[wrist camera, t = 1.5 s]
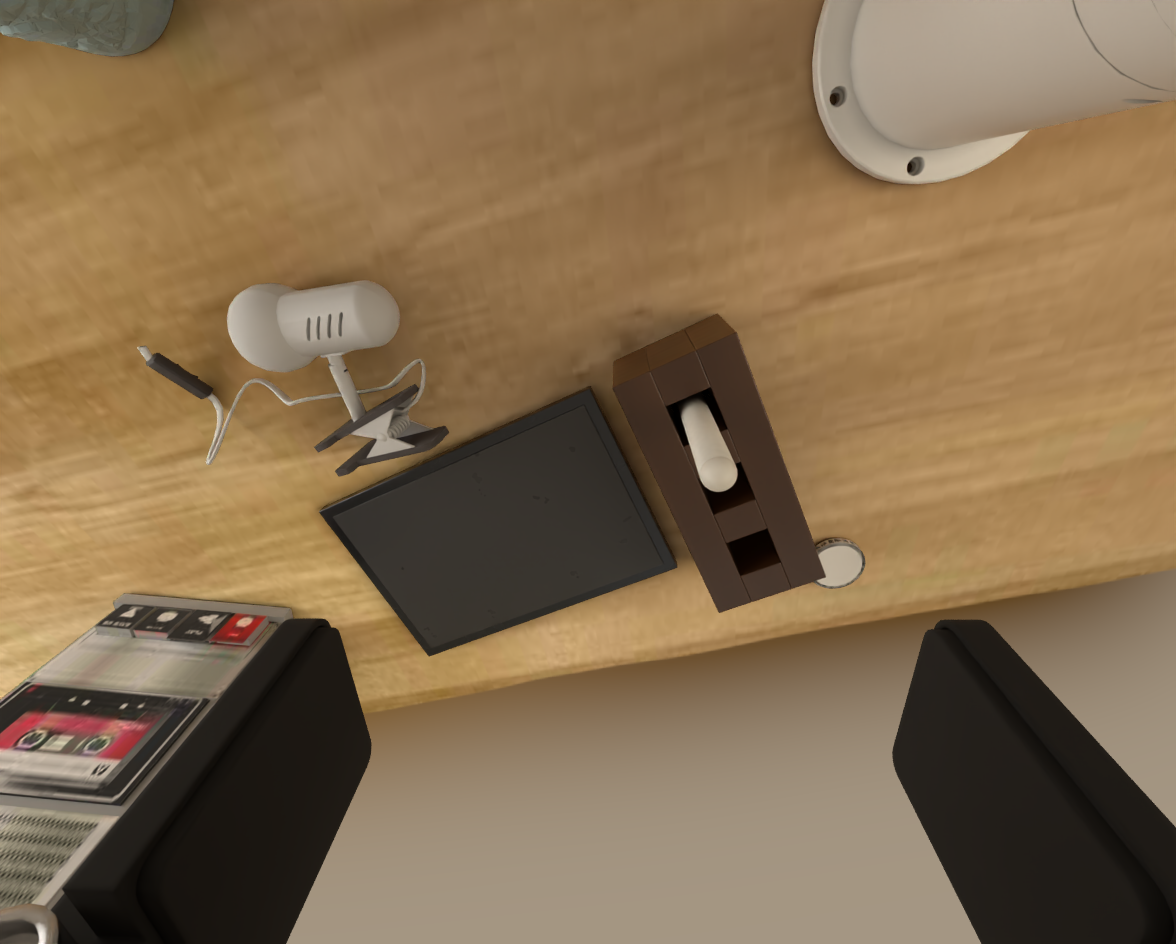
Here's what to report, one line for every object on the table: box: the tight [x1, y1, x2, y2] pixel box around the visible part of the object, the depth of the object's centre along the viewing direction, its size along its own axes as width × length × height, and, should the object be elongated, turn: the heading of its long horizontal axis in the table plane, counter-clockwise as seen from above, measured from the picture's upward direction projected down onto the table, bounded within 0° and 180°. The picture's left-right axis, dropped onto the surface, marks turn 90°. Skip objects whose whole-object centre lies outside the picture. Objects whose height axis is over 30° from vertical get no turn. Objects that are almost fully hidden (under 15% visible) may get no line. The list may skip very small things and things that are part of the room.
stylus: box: [677, 392, 737, 492], centre depth 29 cm, size 2×2×14 cm
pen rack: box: [613, 314, 826, 613], centre depth 35 cm, size 7×17×6 cm, turn 26°
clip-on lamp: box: [137, 280, 449, 476], centre depth 34 cm, size 12×6×18 cm
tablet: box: [319, 386, 677, 656], centre depth 41 cm, size 22×15×1 cm
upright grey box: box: [0, 593, 293, 910], centre depth 35 cm, size 14×6×25 cm, turn 86°
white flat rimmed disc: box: [814, 538, 865, 589], centre depth 40 cm, size 4×4×1 cm
